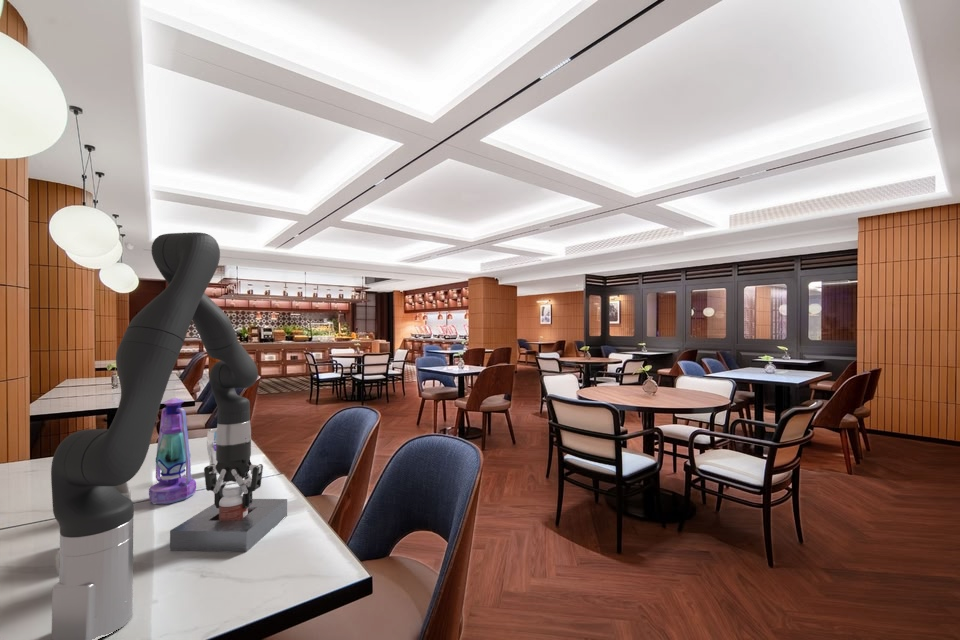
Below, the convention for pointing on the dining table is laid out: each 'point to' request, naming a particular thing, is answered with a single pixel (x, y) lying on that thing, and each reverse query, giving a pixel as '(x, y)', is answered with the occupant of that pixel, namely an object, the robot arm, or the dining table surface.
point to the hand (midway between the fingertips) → (233, 506)
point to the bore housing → (228, 528)
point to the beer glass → (212, 446)
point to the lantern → (172, 457)
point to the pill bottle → (232, 504)
